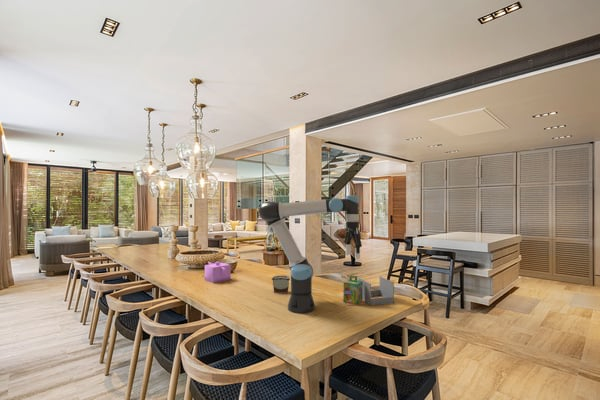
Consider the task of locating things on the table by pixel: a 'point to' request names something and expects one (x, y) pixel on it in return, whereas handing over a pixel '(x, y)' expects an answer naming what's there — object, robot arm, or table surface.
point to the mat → (354, 304)
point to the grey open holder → (378, 292)
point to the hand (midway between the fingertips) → (352, 257)
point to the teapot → (217, 272)
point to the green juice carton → (353, 291)
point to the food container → (280, 284)
